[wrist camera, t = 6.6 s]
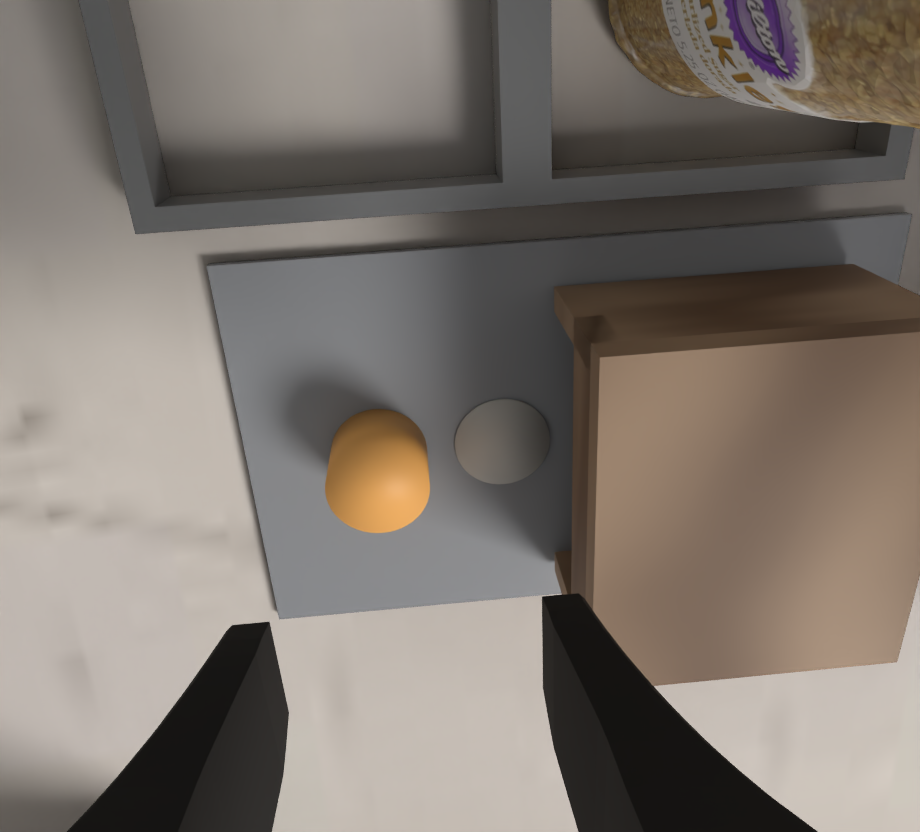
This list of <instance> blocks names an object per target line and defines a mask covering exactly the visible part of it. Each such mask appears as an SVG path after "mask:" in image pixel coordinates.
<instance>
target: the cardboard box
mask: <svg viewBox="0 0 920 832" xmlns="http://www.w3.org/2000/svg"><path fill="white" fill-rule="evenodd" d="M554 312H555V314H556V316H557V317H558V319H559V321H560V323H561V324H562V326H563V328H564V329H565V331H566V333H567V335H568V336H569V338H570V340H571V341H572V343H573V345H574V372H573V467H572V550H571V551H559V552H555V573H556V576H557V580H558V583H559V586H560V590H561V593H562V595H565V594H576V593H579V594H580V595H581V596H582V597H584V598H585V599H586V601H587V603H588V604H589V606H590V607H591V608H592V610H593V611H594V613H595V614H596V616H597V617H598V618H599V620H600V621H601V623H602V624H603V625H604V627H605V628H606V629H607V631H608V632H609V633H610V635H611V636H612V637H613V638H614V640H615V641H616V642H617V643H618V645H619V646H620V647H621V649H622V650H623V651H624V652H625V654H626V655H627V656H628V657H629V658H630V660H631V661H632V662H633V663H634V664H635V666H636V667H637V668H638V669H639V670H640V671H641V672H642V674H643V675H644V676H645V677H646V678H647V679H648V681H649V682H650V683H651V684H652V685H653V686H658V685H668V684H678V683H688V682H699V681H709V680H719V679H729V678H739V677H750V676H760V675H770V674H780V673H791V672H801V671H811V670H821V669H831V668H842V667H852V666H862V665H872V664H883V663H893V662H897V660H898V657H899V653H900V649H901V645H902V641H903V637H904V634H905V630H906V626H907V622H908V618H909V614H910V611H911V607H912V603H913V599H914V595H915V591H916V588H917V584H918V580H919V576H920V296H919V295H917V294H915V293H913V292H911V291H909V290H907V289H905V288H903V287H901V286H899V285H897V284H894V283H892V282H890V281H888V280H886V279H884V278H882V277H880V276H878V275H876V274H874V273H872V272H870V271H867V270H865V269H863V268H861V267H859V266H857V265H855V264H845V265H832V266H818V267H805V268H792V269H779V270H766V271H753V272H739V273H726V274H713V275H700V276H687V277H673V278H660V279H647V280H634V281H621V282H608V283H594V284H581V285H568V286H555V287H554Z"/></svg>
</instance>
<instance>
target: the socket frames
mask: <svg viewBox="0 0 920 832" xmlns="http://www.w3.org/2000/svg"><path fill="white" fill-rule="evenodd" d="M79 4H80V8H81V12H82V17H83V21H84V25H85V29H86V33H87V37H88V41H89V45H90V49H91V54H92V58H93V62H94V66H95V70H96V74H97V78H98V82H99V86H100V91H101V95H102V99H103V103H104V107H105V111H106V115H107V119H108V123H109V128H110V132H111V136H112V140H113V144H114V148H115V152H116V156H117V160H118V165H119V169H120V173H121V177H122V181H123V185H124V189H125V193H126V197H127V202H128V206H129V210H130V214H131V218H132V222H133V226H134V230H135V234H144V233H158V232H172V231H186V230H200V229H214V228H228V227H242V226H256V225H270V224H284V223H298V222H312V221H326V220H340V219H354V218H368V217H382V216H396V215H410V214H424V213H438V212H452V211H466V210H480V209H494V208H508V207H522V206H536V205H550V204H564V203H578V202H592V201H606V200H620V199H634V198H648V197H662V196H676V195H690V194H704V193H718V192H732V191H746V190H760V189H774V188H788V187H802V186H816V185H830V184H844V183H858V182H872V181H886V180H900V179H904V178H905V173H906V168H907V163H908V158H909V153H910V148H911V142H912V137H913V132H914V127H908V126H899V125H891V124H887V123H879V122H859V126H858V132H857V138H856V144H855V149H846V150H832V151H818V152H803V153H789V154H775V155H760V156H746V157H731V158H717V159H703V160H688V161H674V162H660V163H645V164H631V165H617V166H602V167H588V168H573V169H559V170H552V96H551V0H490V4H491V34H492V64H493V93H494V123H495V153H496V174H487V175H473V176H458V177H444V178H430V179H415V180H401V181H387V182H372V183H358V184H344V185H329V186H315V187H300V188H286V189H272V190H257V191H243V192H229V193H214V194H200V195H186V196H171V195H170V191H169V186H168V181H167V177H166V172H165V168H164V163H163V158H162V154H161V149H160V145H159V140H158V136H157V131H156V126H155V122H154V117H153V113H152V108H151V103H150V99H149V94H148V90H147V85H146V81H145V76H144V71H143V67H142V62H141V58H140V53H139V48H138V44H137V39H136V35H135V30H134V26H133V21H132V16H131V12H130V7H129V3H128V0H79Z"/></svg>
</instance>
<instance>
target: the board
mask: <svg viewBox="0 0 920 832" xmlns="http://www.w3.org/2000/svg"><path fill="white" fill-rule="evenodd" d="M911 217H912V214H909V213H895V214H882V215H868V216H854V217H841V218H827V219H813V220H800V221H786V222H772V223H759V224H745V225H731V226H718V227H704V228H691V229H677V230H663V231H650V232H636V233H622V234H609V235H595V236H581V237H568V238H554V239H540V240H527V241H513V242H500V243H486V244H472V245H459V246H445V247H431V248H418V249H404V250H390V251H377V252H363V253H349V254H336V255H322V256H309V257H295V258H281V259H268V260H254V261H240V262H227V263H213V264H208V265H207V271H208V276H209V281H210V286H211V290H212V295H213V300H214V305H215V310H216V315H217V320H218V324H219V329H220V334H221V339H222V344H223V349H224V354H225V358H226V363H227V368H228V373H229V378H230V383H231V387H232V392H233V397H234V402H235V407H236V412H237V417H238V421H239V426H240V431H241V436H242V441H243V446H244V451H245V455H246V460H247V465H248V470H249V475H250V480H251V485H252V489H253V494H254V499H255V504H256V509H257V514H258V519H259V523H260V528H261V533H262V538H263V543H264V548H265V552H266V557H267V562H268V567H269V572H270V577H271V582H272V586H273V591H274V596H275V601H276V606H277V611H278V616H279V619H289V618H299V617H310V616H321V615H332V614H343V613H354V612H364V611H375V610H386V609H397V608H408V607H418V606H429V605H440V604H451V603H462V602H473V601H483V600H494V599H505V598H516V597H527V596H538V595H548V594H559V593H561V590H560V586H559V583H558V580H557V576H556V573H555V552H559V551H571V550H572V467H573V372H574V345H573V343H572V341H571V340H570V338H569V336H568V335H567V333H566V331H565V329H564V328H563V326H562V324H561V323H560V321H559V319H558V317H557V316H556V314H555V312H554V287H555V286H568V285H581V284H594V283H608V282H621V281H634V280H647V279H660V278H673V277H687V276H700V275H713V274H726V273H739V272H753V271H766V270H779V269H792V268H805V267H818V266H832V265H845V264H855V265H857V266H859V267H861V268H863V269H865V270H867V271H870V272H872V273H874V274H876V275H878V276H880V277H882V278H884V279H886V280H888V281H890V282H892V283H894V284H897V285H898V281H899V276H900V271H901V266H902V261H903V256H904V251H905V247H906V242H907V237H908V232H909V227H910V222H911Z"/></svg>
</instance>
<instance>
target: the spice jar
mask: <svg viewBox="0 0 920 832" xmlns="http://www.w3.org/2000/svg"><path fill="white" fill-rule="evenodd" d="M608 6H609V18H610V22H611V25H612V27H613V30H614V33H615V38H616V41H617V43H618V44H619V46H620V47H621V49H622V50H623V51H624V53H625V54H626V55H627V56H628V58H629V60H630V61H631V63H632V64H633V65H634V66H635V67H636V69H637V70H638V71H640V72H641V73H642V74H643V75H644V76H646V77H647V78H648V79H650V80H651V81H652V82H654V83H656V84H658V85H659V86H660V87H662V88H664V89H666V90H668V91H670V92H672V93H675V94H678V95H682V96H691V97H699V98H711V97H719V96H725V97H727V98H729V99H731V100H733V101H737V102H740V103H744V104H748V105H753V106H759V107H765V108H771V109H777V110H783V111H788V112H794V113H799V114H805V115H810V116H816V117H822V118H827V119H833V120H841V121H851V122H879V123H887V124H891V125H899V126H908V127H914V128H918V129H920V0H608Z"/></svg>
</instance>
